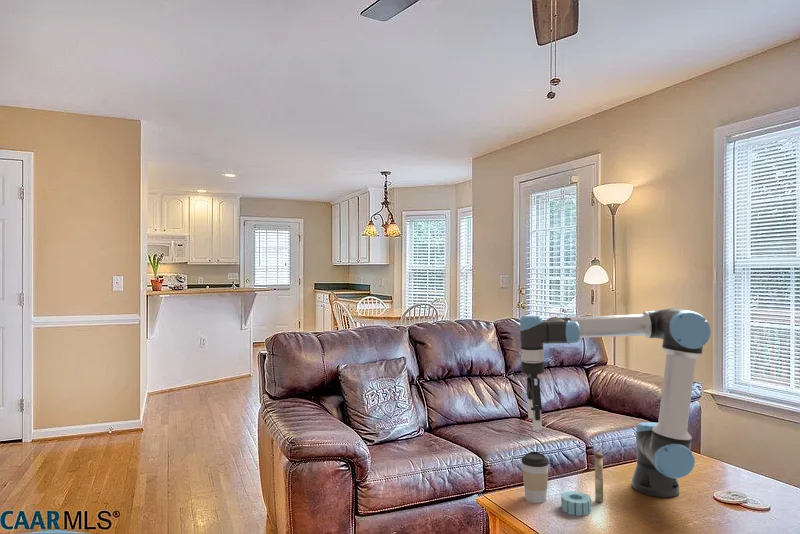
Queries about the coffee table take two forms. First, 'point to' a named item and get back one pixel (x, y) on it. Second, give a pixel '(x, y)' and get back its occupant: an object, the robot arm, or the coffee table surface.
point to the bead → (576, 503)
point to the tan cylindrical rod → (598, 477)
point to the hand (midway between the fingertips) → (534, 423)
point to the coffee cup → (535, 476)
